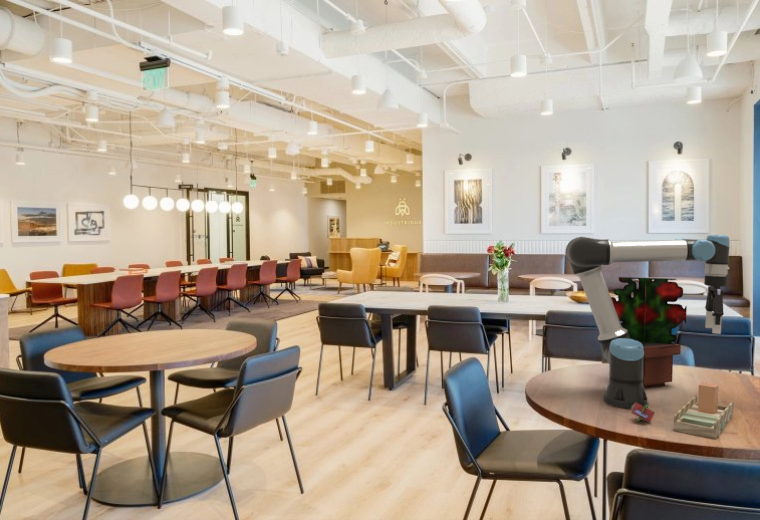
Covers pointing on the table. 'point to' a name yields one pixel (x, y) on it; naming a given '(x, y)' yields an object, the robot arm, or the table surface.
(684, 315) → the potted plant
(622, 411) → the table surface
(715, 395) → the block
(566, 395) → the table surface
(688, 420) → the beige open frame
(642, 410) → the icosahedron model
